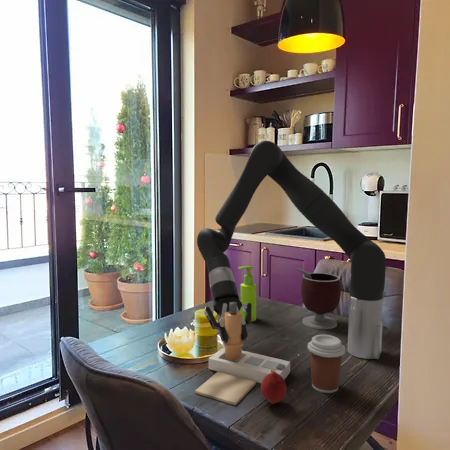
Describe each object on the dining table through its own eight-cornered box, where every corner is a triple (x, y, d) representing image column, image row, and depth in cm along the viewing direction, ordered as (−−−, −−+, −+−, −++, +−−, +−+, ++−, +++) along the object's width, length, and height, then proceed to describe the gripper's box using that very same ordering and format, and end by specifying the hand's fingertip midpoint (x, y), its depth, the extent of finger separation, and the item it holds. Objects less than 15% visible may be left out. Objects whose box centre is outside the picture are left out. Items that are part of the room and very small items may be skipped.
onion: (283, 396, 92) (284, 363, 91) (288, 410, 86) (289, 376, 86) (259, 396, 92) (259, 364, 91) (262, 410, 86) (262, 376, 85)
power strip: (290, 372, 104) (290, 360, 103) (277, 387, 96) (278, 374, 96) (224, 356, 113) (224, 345, 113) (208, 369, 106) (208, 357, 105)
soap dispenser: (235, 317, 146) (235, 265, 144) (252, 315, 149) (253, 264, 146) (240, 322, 141) (241, 268, 139) (258, 320, 143) (259, 267, 141)
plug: (246, 354, 108) (246, 301, 106) (237, 362, 103) (237, 307, 101) (229, 350, 111) (228, 298, 109) (219, 357, 106) (218, 304, 104)
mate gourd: (336, 317, 147) (338, 265, 145) (342, 331, 133) (344, 274, 131) (295, 315, 149) (296, 264, 147) (296, 328, 135) (297, 272, 133)
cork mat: (255, 384, 98) (255, 381, 98) (235, 405, 88) (235, 403, 88) (217, 373, 103) (217, 371, 103) (195, 392, 93) (195, 390, 93)
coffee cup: (339, 400, 91) (341, 350, 89) (301, 389, 95) (302, 342, 94) (347, 382, 99) (349, 337, 97) (312, 374, 103) (313, 330, 102)
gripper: (201, 280, 110) (211, 338, 100) (248, 277, 114) (263, 332, 104) (197, 294, 116) (207, 349, 105) (243, 290, 119) (256, 343, 109)
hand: (235, 340), depth 104 cm, fingers closed on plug, 4 cm apart
